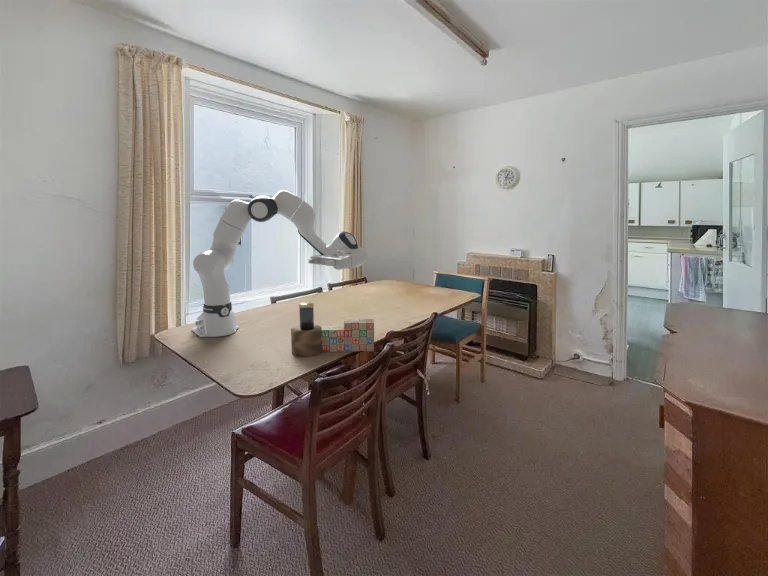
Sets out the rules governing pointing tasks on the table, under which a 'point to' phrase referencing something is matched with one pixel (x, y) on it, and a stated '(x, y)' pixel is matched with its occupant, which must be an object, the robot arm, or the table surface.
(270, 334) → the table surface
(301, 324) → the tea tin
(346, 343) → the stack of blocks
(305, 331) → the brown wooden cylinder
